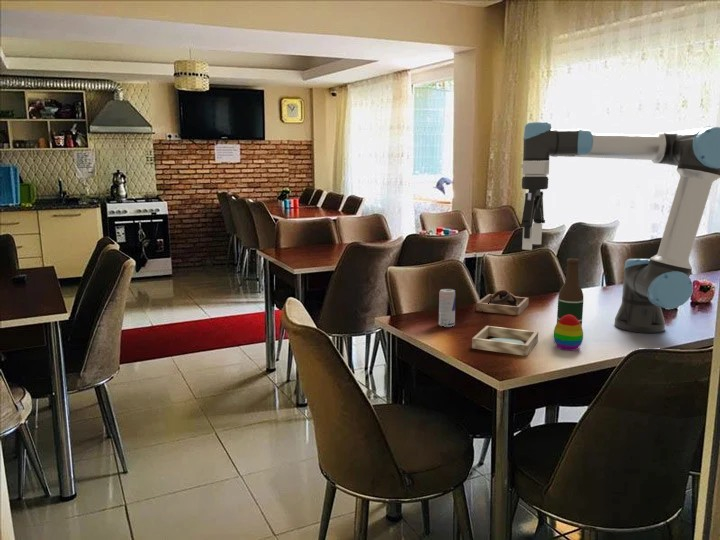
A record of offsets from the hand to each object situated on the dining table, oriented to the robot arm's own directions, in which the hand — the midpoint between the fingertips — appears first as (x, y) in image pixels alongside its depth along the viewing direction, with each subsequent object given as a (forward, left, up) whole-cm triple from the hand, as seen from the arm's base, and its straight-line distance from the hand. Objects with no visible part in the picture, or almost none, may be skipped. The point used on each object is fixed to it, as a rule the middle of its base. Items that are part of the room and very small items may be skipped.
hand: (531, 246), depth 179 cm
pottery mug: (+16, -36, -29) cm, 49 cm away
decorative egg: (-12, +5, -29) cm, 32 cm away
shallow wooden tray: (+5, +10, -29) cm, 31 cm away
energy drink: (+28, -3, -29) cm, 40 cm away
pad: (+5, +10, -29) cm, 31 cm away
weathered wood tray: (+17, -36, -29) cm, 49 cm away
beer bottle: (-10, -12, -29) cm, 33 cm away
